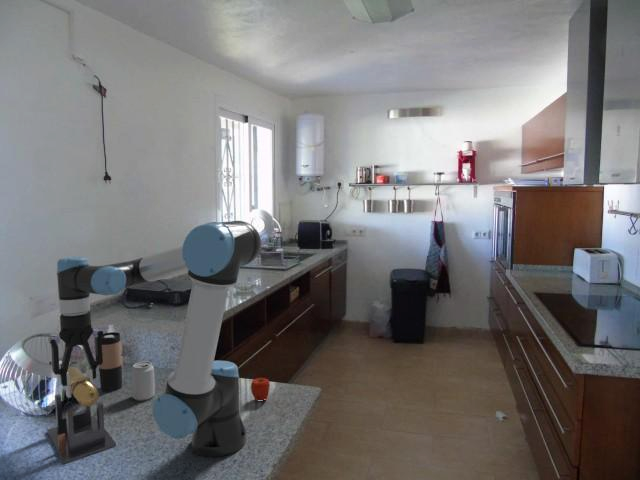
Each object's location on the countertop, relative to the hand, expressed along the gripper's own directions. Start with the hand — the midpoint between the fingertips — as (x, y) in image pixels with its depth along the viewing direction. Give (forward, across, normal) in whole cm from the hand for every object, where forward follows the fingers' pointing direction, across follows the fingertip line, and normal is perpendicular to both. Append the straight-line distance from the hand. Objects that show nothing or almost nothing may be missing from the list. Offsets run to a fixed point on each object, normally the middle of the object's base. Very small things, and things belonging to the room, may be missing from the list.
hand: (79, 392), depth 128 cm
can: (+15, -24, -18) cm, 34 cm away
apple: (+15, -53, +12) cm, 56 cm away
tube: (0, +1, 0) cm, 1 cm away
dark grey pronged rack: (+15, 0, -2) cm, 15 cm away
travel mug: (+15, -18, -34) cm, 42 cm away
